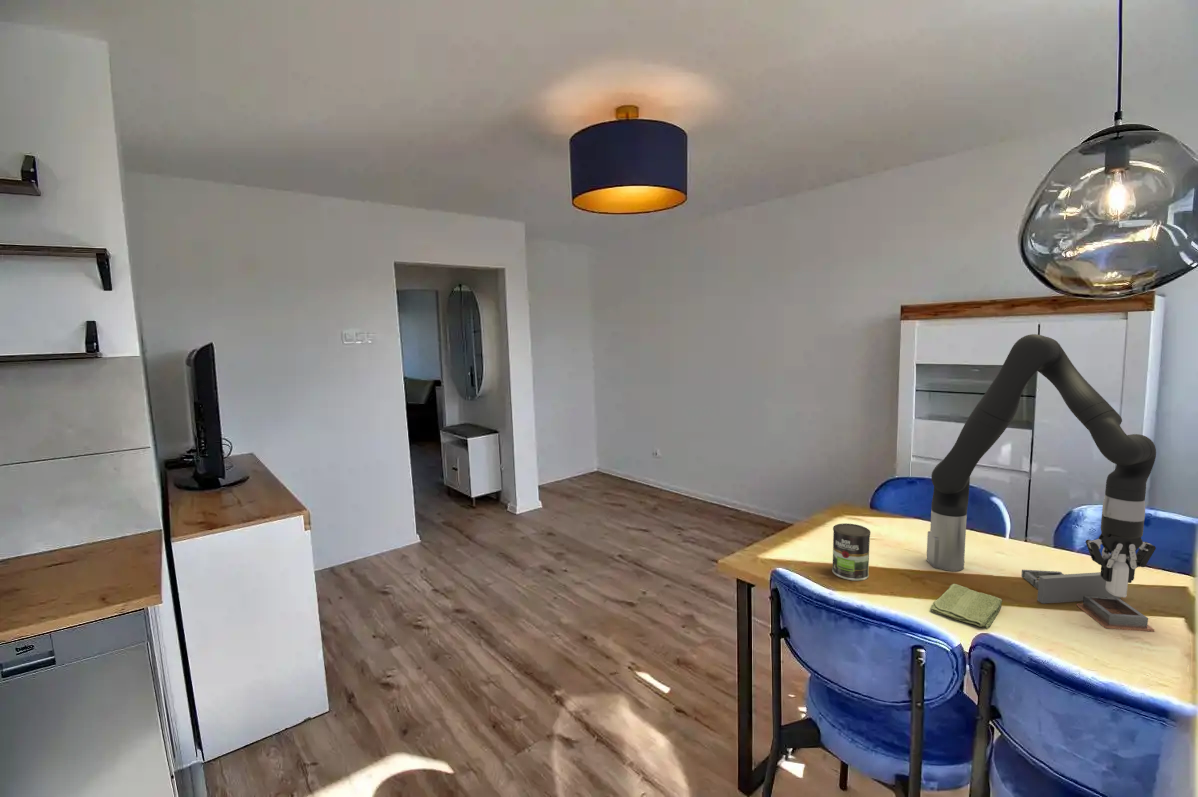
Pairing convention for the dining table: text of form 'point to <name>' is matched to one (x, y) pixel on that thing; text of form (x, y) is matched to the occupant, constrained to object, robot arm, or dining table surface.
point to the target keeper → (1114, 613)
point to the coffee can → (851, 551)
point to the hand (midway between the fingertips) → (1116, 580)
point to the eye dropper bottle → (1119, 577)
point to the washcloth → (968, 606)
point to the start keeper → (1037, 575)
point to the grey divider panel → (1071, 587)
